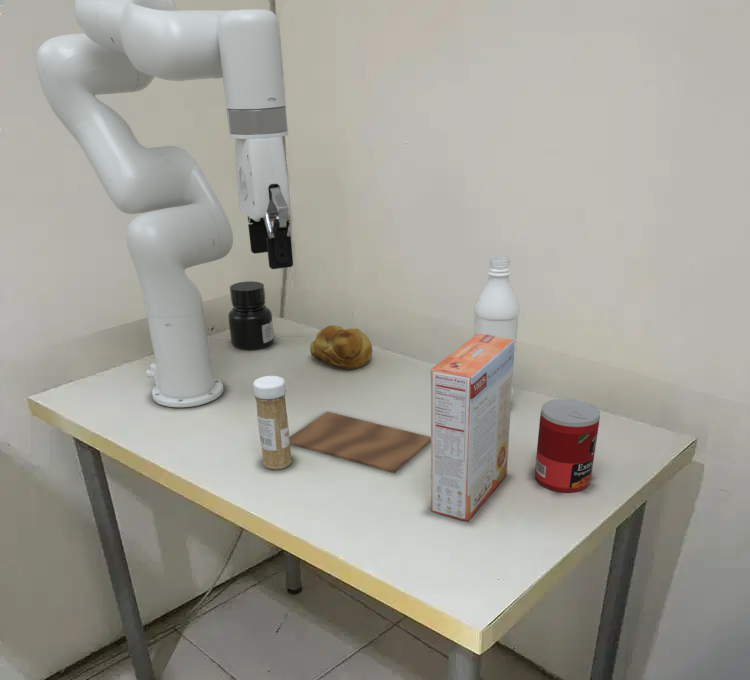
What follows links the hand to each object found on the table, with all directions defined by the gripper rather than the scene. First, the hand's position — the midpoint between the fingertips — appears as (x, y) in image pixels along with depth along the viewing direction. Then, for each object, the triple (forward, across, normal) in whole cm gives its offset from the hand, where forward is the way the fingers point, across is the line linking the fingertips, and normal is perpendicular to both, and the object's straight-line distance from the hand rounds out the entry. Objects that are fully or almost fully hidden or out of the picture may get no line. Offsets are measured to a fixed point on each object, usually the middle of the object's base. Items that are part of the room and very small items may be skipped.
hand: (271, 259), depth 107 cm
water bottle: (+29, +1, +36) cm, 46 cm away
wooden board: (+29, +4, +10) cm, 31 cm away
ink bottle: (+28, -47, +6) cm, 55 cm away
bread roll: (+28, -29, +19) cm, 45 cm away
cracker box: (+29, +25, +18) cm, 43 cm away
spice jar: (+29, +6, -4) cm, 30 cm away
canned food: (+29, +27, +32) cm, 52 cm away
